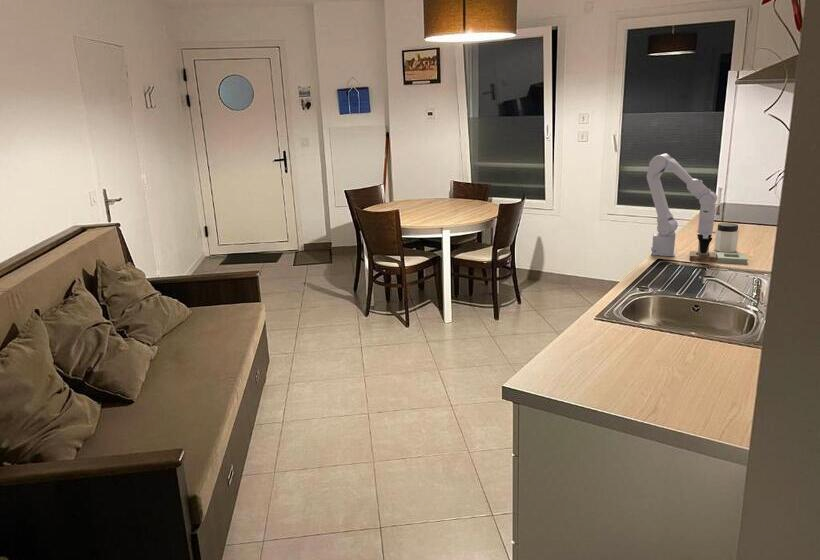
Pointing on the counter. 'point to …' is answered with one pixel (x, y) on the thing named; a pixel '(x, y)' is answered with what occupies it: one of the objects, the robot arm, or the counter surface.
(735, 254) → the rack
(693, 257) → the socket block
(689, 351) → the counter surface
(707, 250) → the peg
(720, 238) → the jar
